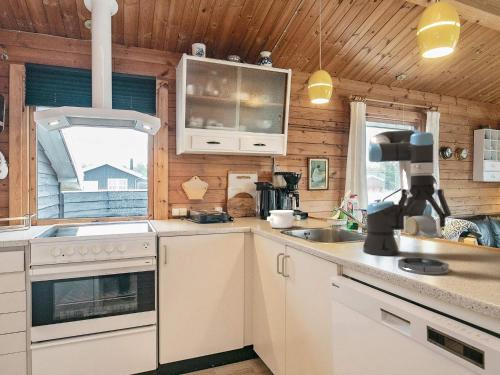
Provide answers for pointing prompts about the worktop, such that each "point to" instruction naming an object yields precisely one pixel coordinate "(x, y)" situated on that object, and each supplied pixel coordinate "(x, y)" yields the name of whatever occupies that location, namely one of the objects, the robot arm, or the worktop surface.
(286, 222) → the pot
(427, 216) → the ceramic mug
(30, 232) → the worktop surface
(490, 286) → the worktop surface
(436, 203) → the robot arm
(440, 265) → the ring plate
